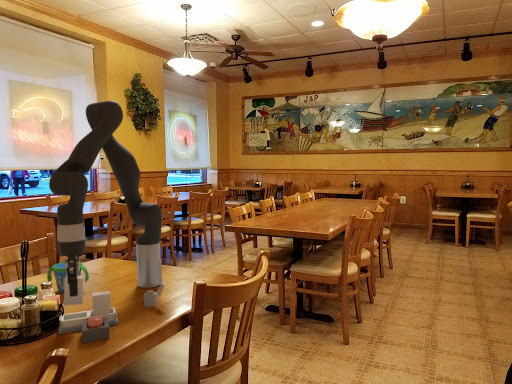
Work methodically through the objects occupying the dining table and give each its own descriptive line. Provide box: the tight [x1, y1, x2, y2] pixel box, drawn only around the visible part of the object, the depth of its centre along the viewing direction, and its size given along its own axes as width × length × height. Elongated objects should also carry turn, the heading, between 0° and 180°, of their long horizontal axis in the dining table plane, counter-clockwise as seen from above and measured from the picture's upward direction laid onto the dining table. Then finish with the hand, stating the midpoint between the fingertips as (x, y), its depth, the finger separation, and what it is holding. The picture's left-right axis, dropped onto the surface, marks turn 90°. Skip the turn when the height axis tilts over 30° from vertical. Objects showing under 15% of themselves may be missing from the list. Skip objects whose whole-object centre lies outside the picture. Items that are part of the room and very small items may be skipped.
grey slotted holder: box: [57, 290, 119, 335], centre depth 119 cm, size 16×9×9 cm, turn 112°
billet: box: [63, 275, 84, 306], centre depth 117 cm, size 5×3×8 cm, turn 112°
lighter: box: [143, 281, 166, 308], centre depth 133 cm, size 7×2×8 cm, turn 97°
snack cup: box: [46, 261, 90, 293], centre depth 150 cm, size 16×10×10 cm
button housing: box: [81, 318, 110, 344], centre depth 111 cm, size 7×7×4 cm
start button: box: [88, 316, 103, 328], centre depth 111 cm, size 4×4×2 cm
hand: (74, 293), depth 117 cm, fingers closed on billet, 2 cm apart
